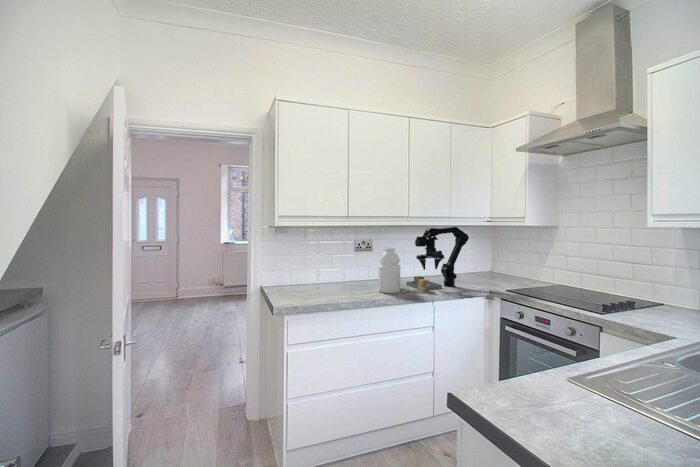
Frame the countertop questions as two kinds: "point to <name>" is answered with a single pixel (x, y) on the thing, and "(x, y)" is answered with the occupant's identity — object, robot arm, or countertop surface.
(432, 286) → the grey square slab
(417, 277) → the walnut block
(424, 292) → the green pad
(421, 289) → the oak block
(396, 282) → the bottle
